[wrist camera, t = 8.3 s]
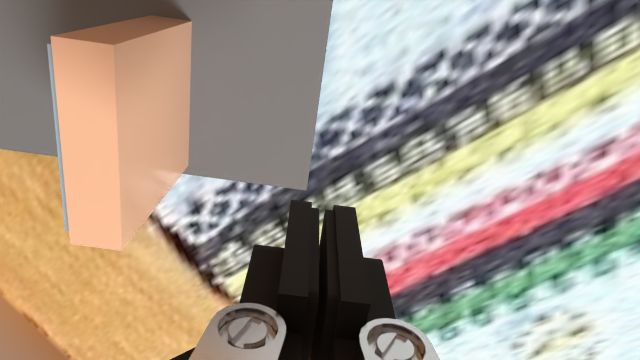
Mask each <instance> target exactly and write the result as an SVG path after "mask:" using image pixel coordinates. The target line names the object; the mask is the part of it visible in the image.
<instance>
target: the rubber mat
mask: <svg viewBox="0 0 640 360" xmlns="http://www.w3.org/2000/svg"><path fill="white" fill-rule="evenodd" d="M332 3H333V0H0V149H5V150H12V151H20V152H27V153H34V154H42V155H49V156H57V157H58V151H57V141H56V131H55V120H54V110H53V100H52V90H51V80H50V69H49V59H48V49H47V44H49V43H51V36H53V35H58V34H63V33H68V32H72V31H77V30H82V29H87V28H92V27H97V26H102V25H106V24H111V23H116V22H121V21H126V20H131V19H136V18H140V17H145V16H150V15H153V16H160V17H167V18H174V19H180V20H187V21H192V35H191V76H190V118H189V160H188V167H187V168H186V169H185V170H184V172H183V173H182V174H189V175H196V176H204V177H211V178H219V179H226V180H233V181H241V182H248V183H255V184H263V185H270V186H277V187H285V188H292V189H300V190H307V183H308V176H309V169H310V162H311V154H312V147H313V140H314V133H315V125H316V118H317V111H318V104H319V97H320V89H321V82H322V75H323V68H324V61H325V53H326V46H327V39H328V32H329V25H330V17H331V10H332Z"/></svg>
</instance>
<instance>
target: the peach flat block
mask: <svg viewBox="0 0 640 360" xmlns="http://www.w3.org/2000/svg"><path fill="white" fill-rule="evenodd" d="M191 35H192V21H187V20H180V19H174V18H167V17H160V16H153V15H150V16H145V17H140V18H136V19H131V20H126V21H121V22H116V23H111V24H106V25H102V26H97V27H92V28H87V29H82V30H77V31H72V32H68V33H63V34H58V35H53V36H51V43H49V44H47V49H48V59H49V69H50V80H51V90H52V100H53V110H54V120H55V131H56V141H57V151H58V161H59V171H60V181H61V192H62V202H63V212H64V222H65V231H68V232H69V236H70V244H74V245H81V246H89V247H97V248H104V249H112V250H120V251H123V249H124V248H125V247H126V245H127V244H128V243H129V241H130V240H131V239H132V238H133V236H134V235H135V234H136V232H137V231H138V230H139V229H140V227H141V226H142V225H143V223H144V222H145V221H146V220H147V218H148V217H149V216H150V214H151V213H152V212H153V210H154V209H155V208H156V207H157V205H158V204H159V203H160V201H161V200H162V199H163V198H164V196H165V195H166V194H167V192H168V191H169V190H170V188H171V187H172V186H173V185H174V183H175V182H176V181H177V179H178V178H179V177H180V176H181V174H182V173H183V172H184V170H185V169H186V168H187V167H188V160H189V118H190V76H191Z"/></svg>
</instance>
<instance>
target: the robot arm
mask: <svg viewBox="0 0 640 360" xmlns="http://www.w3.org/2000/svg"><path fill="white" fill-rule="evenodd" d="M170 360H440V359H439V357H438V355H437V353H436V351H435V349H434V347H433V345H432V343H431V342H430V341H429V339H428V338H427V336H426V335H425V334H424V333H422V332H421V331H420V330H419V329H418V328H416V327H414V326H412V325H411V324H409V323H406V322H403V321H400V320H397V319H396V318H395V314H394V310H393V305H392V301H391V296H390V292H389V288H388V283H387V279H386V274H385V270H384V266H383V262H382V260H380V259H373V258H364V257H363V253H362V247H361V241H360V234H359V228H358V222H357V216H356V209H355V208H354V207H346V206H338V205H334V207H333V210H325V214H324V220H323V226H322V233H321V239H320V245H319V209H318V208H312V202H306V201H298V200H291V204H290V212H289V219H288V226H287V234H286V241H285V248H280V247H272V246H263V245H254V248H253V252H252V256H251V260H250V264H249V268H248V271H247V275H246V279H245V283H244V287H243V291H242V295H241V299H240V303H239V304H234V305H231V306H227V307H225V308H224V309H222V310H220V311H219V312H217V313H216V315H215V316H214V317H213V318H212V319H211V321H210V323H209V325H208V326H207V328H206V330H205V332H204V333H203V335H202V337H201V339H200V340H199V342H198V344H197V346H196V347H195V348H193V349H191V350H189V351H187V352H185V353H183V354H181V355H179V356H177V357H175V358H172V359H170Z"/></svg>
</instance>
